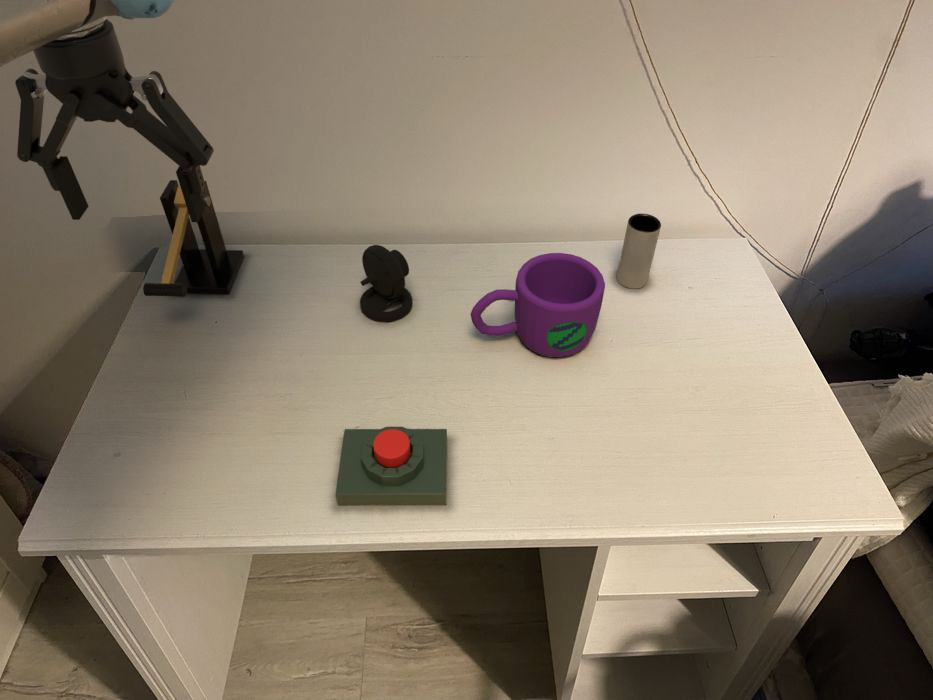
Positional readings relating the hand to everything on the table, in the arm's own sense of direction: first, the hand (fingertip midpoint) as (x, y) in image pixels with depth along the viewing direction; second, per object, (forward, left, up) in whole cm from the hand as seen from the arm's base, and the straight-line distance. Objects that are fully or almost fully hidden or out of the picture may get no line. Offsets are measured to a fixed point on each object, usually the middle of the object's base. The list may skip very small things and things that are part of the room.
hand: (139, 214), depth 82 cm
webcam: (+26, -9, -21) cm, 34 cm away
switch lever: (+4, +7, -11) cm, 13 cm away
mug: (+39, -26, -21) cm, 51 cm away
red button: (+12, -34, -17) cm, 40 cm away
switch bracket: (+8, +12, -20) cm, 25 cm away
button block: (+12, -34, -20) cm, 42 cm away
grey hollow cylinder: (+59, -25, -21) cm, 67 cm away
